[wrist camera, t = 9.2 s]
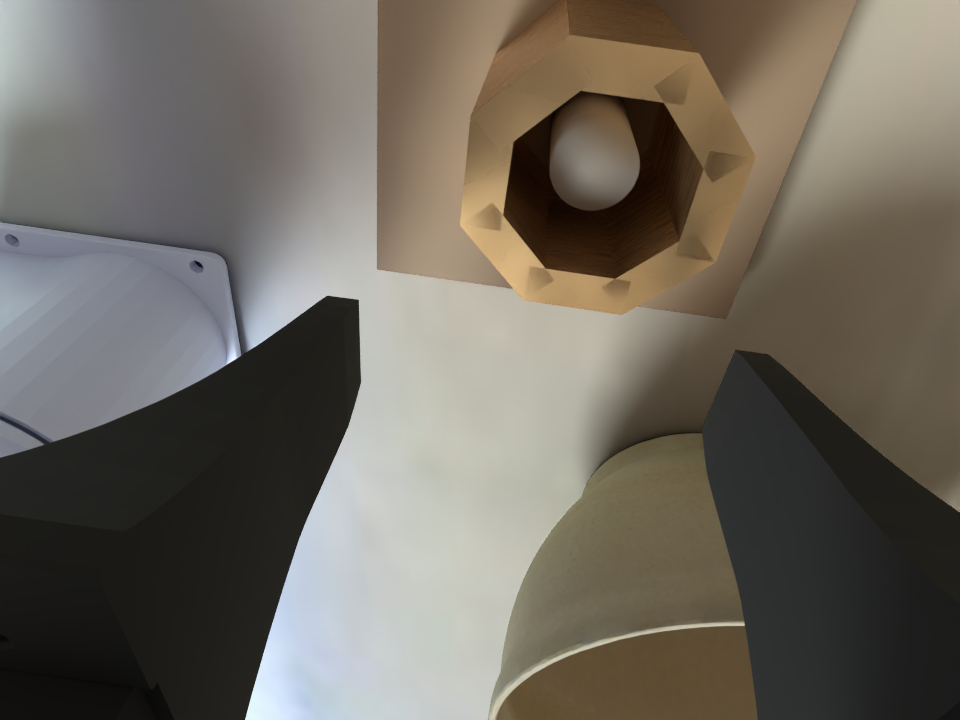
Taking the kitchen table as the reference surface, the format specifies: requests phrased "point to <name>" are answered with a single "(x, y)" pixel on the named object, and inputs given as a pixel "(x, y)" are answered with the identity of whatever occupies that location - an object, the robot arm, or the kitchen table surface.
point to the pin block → (583, 125)
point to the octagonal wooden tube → (663, 166)
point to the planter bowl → (631, 602)
